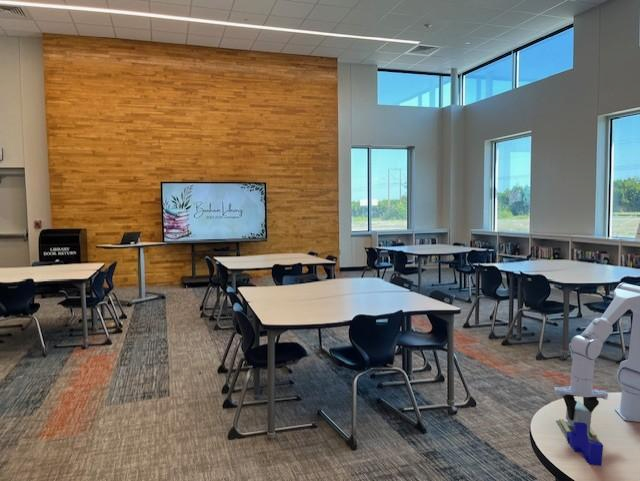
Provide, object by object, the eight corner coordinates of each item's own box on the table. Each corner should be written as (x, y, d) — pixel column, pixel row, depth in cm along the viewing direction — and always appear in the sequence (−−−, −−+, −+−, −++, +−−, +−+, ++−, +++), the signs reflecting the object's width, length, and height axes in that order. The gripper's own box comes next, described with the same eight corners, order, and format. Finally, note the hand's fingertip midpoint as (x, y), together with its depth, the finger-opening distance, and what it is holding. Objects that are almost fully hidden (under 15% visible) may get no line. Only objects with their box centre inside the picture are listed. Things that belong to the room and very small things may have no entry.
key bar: (589, 432, 138) (591, 413, 138) (576, 431, 139) (578, 412, 138) (578, 419, 146) (579, 401, 145) (565, 418, 147) (567, 400, 146)
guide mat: (587, 424, 146) (587, 424, 146) (599, 441, 137) (599, 440, 137) (556, 421, 148) (556, 420, 148) (565, 437, 139) (565, 436, 139)
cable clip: (566, 441, 137) (568, 421, 136) (583, 442, 136) (585, 423, 136) (583, 464, 125) (585, 443, 125) (601, 466, 125) (603, 445, 124)
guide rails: (586, 425, 146) (587, 422, 145) (596, 438, 138) (596, 435, 138) (559, 422, 147) (559, 419, 147) (566, 435, 139) (566, 431, 139)
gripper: (601, 372, 144) (597, 414, 145) (551, 369, 145) (548, 411, 147) (612, 382, 137) (608, 426, 138) (560, 378, 138) (556, 422, 140)
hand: (578, 419), depth 142 cm, fingers closed on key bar, 4 cm apart
